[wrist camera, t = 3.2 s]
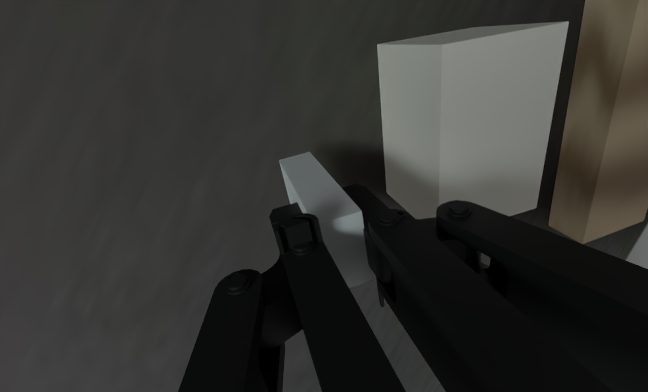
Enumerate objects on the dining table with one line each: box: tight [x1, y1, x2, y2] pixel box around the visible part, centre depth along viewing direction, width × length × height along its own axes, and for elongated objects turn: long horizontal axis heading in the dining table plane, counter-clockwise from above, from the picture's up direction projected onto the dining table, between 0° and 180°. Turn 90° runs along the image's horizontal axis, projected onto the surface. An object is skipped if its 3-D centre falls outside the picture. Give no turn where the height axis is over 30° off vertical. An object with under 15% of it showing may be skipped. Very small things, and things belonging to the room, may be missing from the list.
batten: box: [548, 0, 648, 244], centre depth 21 cm, size 24×6×3 cm, turn 11°
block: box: [377, 21, 569, 219], centre depth 18 cm, size 9×6×6 cm, turn 9°
